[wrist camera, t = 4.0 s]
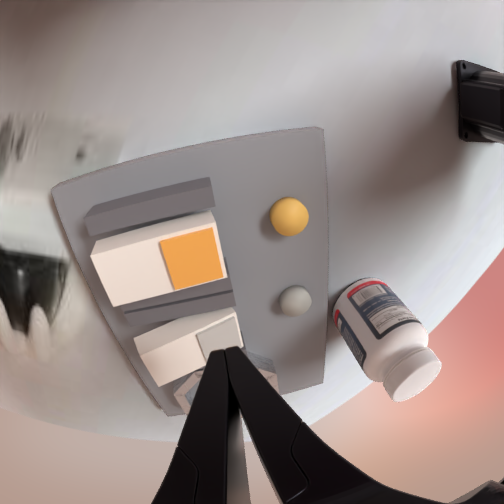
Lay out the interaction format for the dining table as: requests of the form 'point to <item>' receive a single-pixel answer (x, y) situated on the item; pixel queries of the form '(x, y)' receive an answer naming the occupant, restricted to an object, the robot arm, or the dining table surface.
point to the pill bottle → (386, 338)
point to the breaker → (187, 343)
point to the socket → (190, 379)
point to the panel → (222, 244)
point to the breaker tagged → (160, 258)
